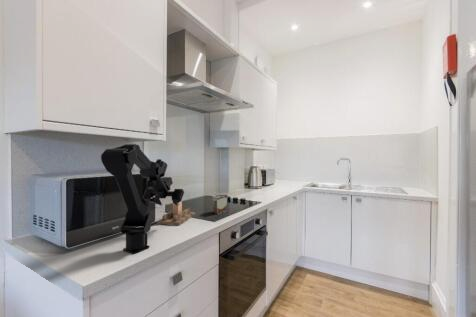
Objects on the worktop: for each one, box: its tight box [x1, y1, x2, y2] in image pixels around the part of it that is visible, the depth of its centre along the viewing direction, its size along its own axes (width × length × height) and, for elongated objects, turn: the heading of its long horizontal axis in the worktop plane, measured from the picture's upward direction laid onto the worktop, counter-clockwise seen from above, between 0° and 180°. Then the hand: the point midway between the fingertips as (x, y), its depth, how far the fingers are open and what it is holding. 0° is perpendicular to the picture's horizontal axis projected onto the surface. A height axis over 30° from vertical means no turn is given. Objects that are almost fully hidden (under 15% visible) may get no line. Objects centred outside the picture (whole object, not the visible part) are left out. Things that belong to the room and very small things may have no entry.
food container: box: [211, 194, 229, 215], centre depth 135 cm, size 12×6×10 cm, turn 149°
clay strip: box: [172, 199, 183, 218], centre depth 119 cm, size 5×3×13 cm, turn 171°
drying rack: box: [156, 207, 196, 226], centre depth 119 cm, size 20×12×4 cm, turn 170°
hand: (169, 204), depth 110 cm, fingers open, 9 cm apart
